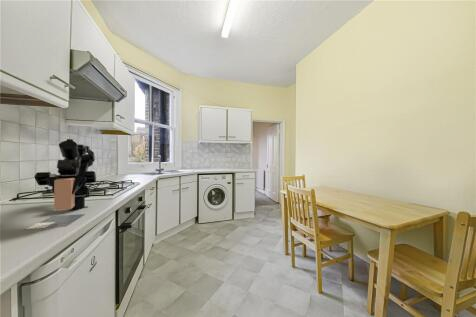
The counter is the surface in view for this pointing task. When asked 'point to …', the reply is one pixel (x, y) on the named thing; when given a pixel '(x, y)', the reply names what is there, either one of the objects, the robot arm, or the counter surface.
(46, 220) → the baseplate
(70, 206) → the column
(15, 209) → the counter surface
